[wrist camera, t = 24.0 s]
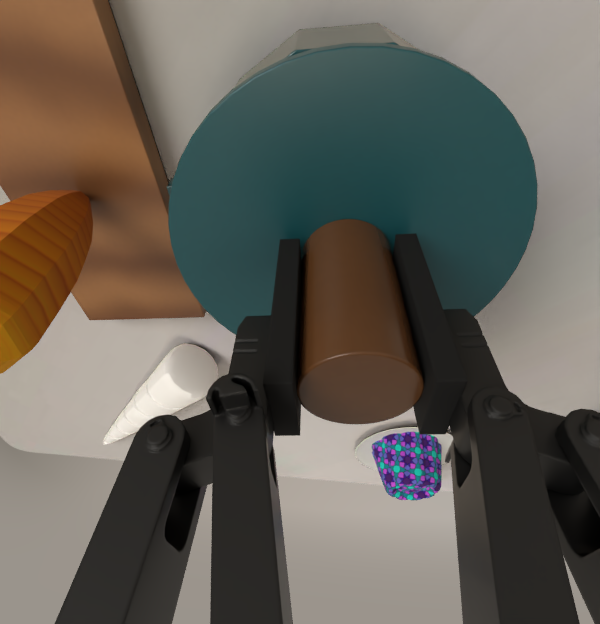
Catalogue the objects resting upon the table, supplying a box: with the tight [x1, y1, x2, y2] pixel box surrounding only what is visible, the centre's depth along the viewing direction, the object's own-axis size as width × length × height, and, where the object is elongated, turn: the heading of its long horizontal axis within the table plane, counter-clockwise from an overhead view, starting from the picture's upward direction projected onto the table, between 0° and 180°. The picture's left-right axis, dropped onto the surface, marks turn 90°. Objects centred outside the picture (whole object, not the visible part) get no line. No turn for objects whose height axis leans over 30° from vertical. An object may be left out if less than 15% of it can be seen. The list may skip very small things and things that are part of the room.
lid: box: [168, 43, 537, 424], centre depth 13 cm, size 14×14×7 cm
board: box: [0, 0, 206, 320], centre depth 22 cm, size 20×9×2 cm, turn 4°
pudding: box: [355, 427, 453, 500], centre depth 42 cm, size 12×12×5 cm
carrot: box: [0, 190, 93, 373], centre depth 16 cm, size 5×5×15 cm
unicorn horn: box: [103, 343, 218, 444], centre depth 37 cm, size 5×24×5 cm, turn 136°
